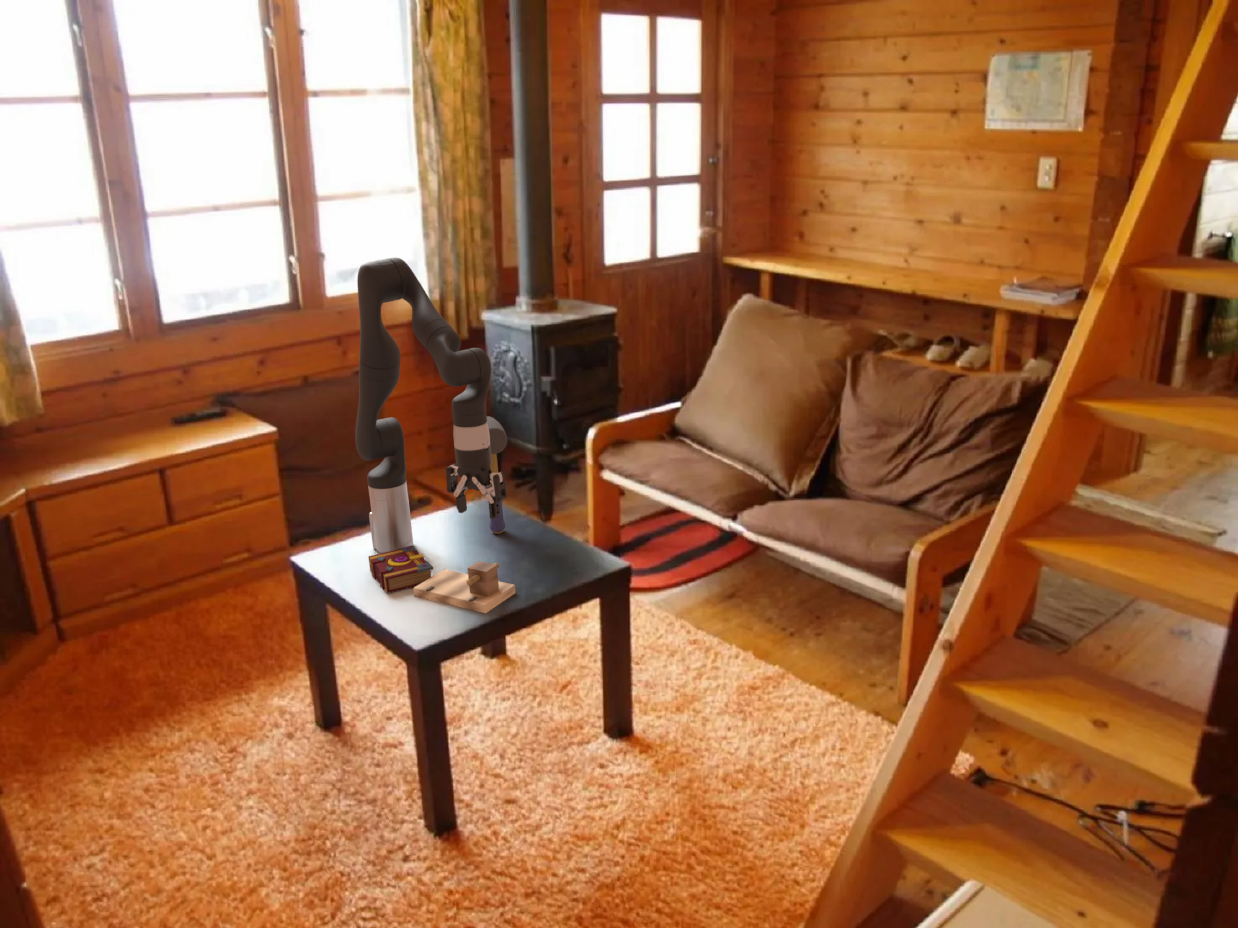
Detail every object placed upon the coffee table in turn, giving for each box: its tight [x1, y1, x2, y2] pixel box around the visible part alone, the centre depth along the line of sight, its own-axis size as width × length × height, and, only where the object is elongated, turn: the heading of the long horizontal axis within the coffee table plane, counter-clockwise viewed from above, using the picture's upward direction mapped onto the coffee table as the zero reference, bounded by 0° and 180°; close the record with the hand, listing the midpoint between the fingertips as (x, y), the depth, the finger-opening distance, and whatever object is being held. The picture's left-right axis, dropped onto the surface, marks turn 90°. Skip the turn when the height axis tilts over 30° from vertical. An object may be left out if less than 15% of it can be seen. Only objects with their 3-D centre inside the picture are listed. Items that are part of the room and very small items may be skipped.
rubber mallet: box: [486, 415, 508, 534], centre depth 264 cm, size 12×8×30 cm, turn 17°
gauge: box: [466, 561, 500, 597], centre depth 230 cm, size 5×10×6 cm, turn 150°
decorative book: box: [367, 544, 434, 594], centre depth 245 cm, size 11×16×5 cm
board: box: [412, 568, 516, 614], centre depth 234 cm, size 20×11×2 cm, turn 60°
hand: (478, 514), depth 225 cm, fingers open, 8 cm apart
